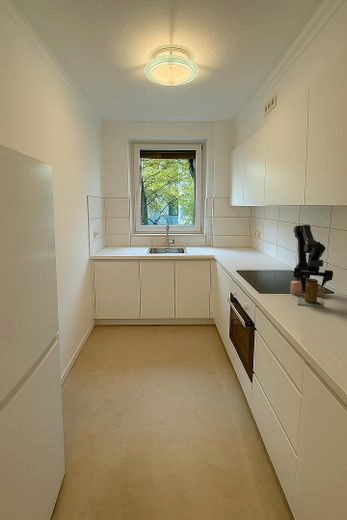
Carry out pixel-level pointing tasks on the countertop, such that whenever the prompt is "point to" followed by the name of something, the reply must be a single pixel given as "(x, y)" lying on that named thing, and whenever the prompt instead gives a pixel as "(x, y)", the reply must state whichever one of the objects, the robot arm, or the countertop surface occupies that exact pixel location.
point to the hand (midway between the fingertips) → (311, 287)
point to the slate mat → (301, 302)
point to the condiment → (311, 292)
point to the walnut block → (320, 291)
